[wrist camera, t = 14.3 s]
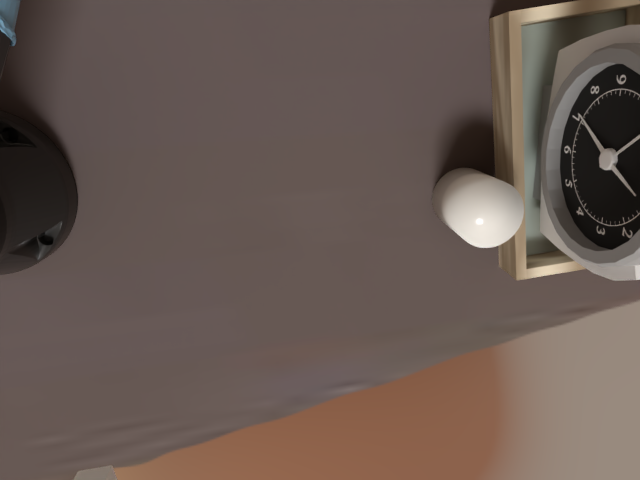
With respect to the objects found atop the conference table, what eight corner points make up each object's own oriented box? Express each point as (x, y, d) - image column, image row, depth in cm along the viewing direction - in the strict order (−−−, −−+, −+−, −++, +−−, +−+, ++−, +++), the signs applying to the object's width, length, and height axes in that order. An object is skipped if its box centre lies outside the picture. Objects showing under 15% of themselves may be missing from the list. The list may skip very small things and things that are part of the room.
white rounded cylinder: (434, 230, 48) (457, 252, 42) (429, 172, 46) (453, 186, 40) (492, 221, 48) (524, 241, 42) (489, 163, 46) (523, 174, 40)
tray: (499, 266, 50) (516, 280, 46) (489, 18, 43) (508, 11, 39) (620, 245, 50) (647, 258, 46) (630, -4, 43) (664, -14, 39)
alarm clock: (530, 42, 42) (731, 0, 23) (622, 38, 43) (895, -6, 23) (514, 234, 48) (666, 330, 28) (595, 229, 48) (800, 321, 29)
